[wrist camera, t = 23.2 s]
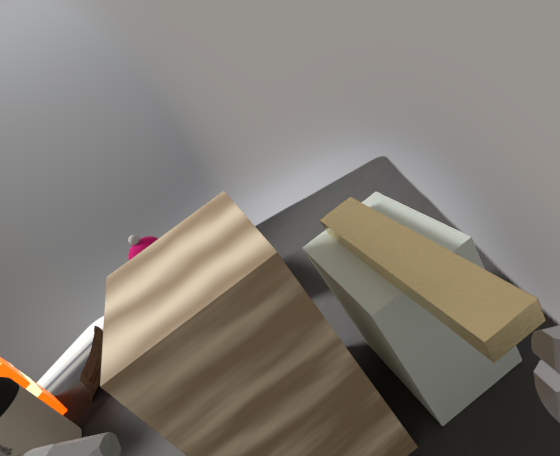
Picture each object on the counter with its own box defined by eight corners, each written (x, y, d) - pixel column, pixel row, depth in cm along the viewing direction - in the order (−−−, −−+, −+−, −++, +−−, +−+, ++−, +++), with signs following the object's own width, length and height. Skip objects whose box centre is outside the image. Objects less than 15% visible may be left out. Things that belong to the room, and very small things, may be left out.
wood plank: (107, 343, 88) (90, 328, 86) (116, 338, 88) (99, 322, 86) (92, 402, 75) (71, 386, 72) (101, 396, 74) (81, 380, 72)
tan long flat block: (545, 320, 25) (537, 298, 24) (494, 363, 25) (484, 342, 24) (358, 211, 44) (350, 196, 44) (328, 234, 44) (319, 220, 43)
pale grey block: (522, 360, 41) (471, 236, 33) (442, 426, 40) (371, 315, 32) (428, 292, 53) (375, 191, 46) (366, 342, 52) (302, 247, 45)
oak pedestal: (418, 446, 40) (276, 252, 28) (299, 545, 39) (99, 386, 27) (339, 348, 54) (223, 190, 42) (251, 418, 53) (106, 277, 41)
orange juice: (33, 450, 73) (-71, 384, 64) (21, 431, 79) (-75, 370, 70) (68, 409, 77) (-24, 342, 67) (54, 395, 83) (-32, 332, 74)
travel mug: (73, 421, 73) (-13, 359, 65) (90, 437, 67) (-3, 371, 59) (35, 466, 69) (-62, 406, 61) (50, 487, 63) (-56, 424, 55)
